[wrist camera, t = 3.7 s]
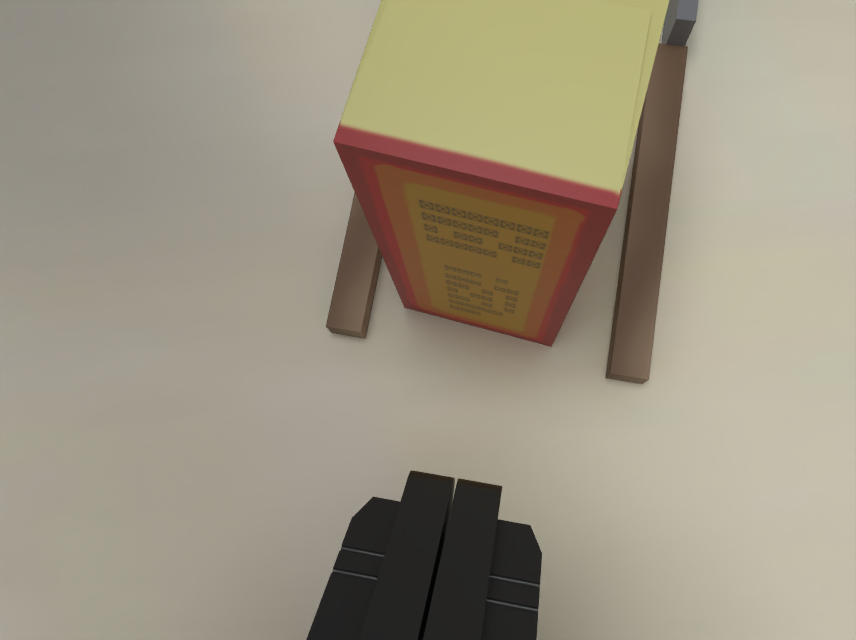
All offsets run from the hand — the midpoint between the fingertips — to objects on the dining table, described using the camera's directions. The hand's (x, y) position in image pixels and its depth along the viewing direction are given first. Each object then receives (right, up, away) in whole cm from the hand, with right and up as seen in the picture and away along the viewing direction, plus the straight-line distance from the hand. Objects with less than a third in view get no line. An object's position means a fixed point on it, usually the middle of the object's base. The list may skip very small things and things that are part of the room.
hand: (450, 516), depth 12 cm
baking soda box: (+3, +7, +21) cm, 22 cm away
